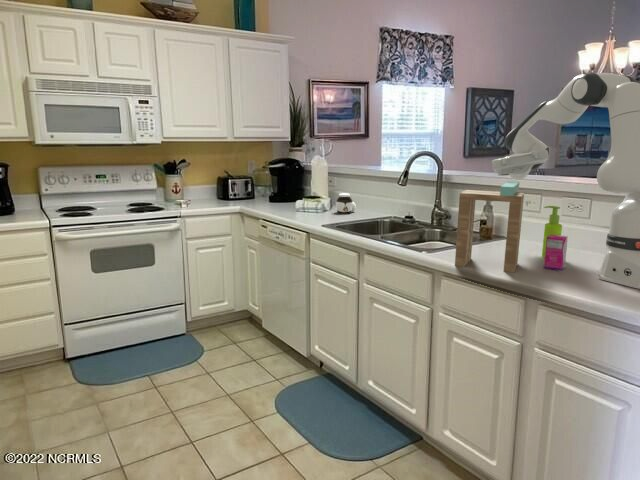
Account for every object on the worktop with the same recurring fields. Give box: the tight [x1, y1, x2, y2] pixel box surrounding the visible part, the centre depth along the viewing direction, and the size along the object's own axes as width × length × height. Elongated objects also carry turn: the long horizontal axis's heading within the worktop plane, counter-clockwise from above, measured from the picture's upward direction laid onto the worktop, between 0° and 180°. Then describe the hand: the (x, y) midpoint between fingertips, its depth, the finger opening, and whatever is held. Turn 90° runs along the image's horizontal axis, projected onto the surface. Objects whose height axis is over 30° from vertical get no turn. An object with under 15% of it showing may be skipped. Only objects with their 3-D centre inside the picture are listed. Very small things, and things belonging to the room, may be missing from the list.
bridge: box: [454, 189, 525, 273], centre depth 174 cm, size 14×20×26 cm
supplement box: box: [543, 235, 568, 271], centre depth 172 cm, size 6×6×12 cm
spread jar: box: [335, 192, 357, 215], centre depth 301 cm, size 12×11×12 cm
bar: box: [499, 181, 520, 196], centre depth 174 cm, size 24×4×3 cm, turn 154°
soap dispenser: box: [541, 205, 563, 260], centre depth 187 cm, size 6×7×20 cm
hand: (520, 156), depth 183 cm, fingers open, 8 cm apart
